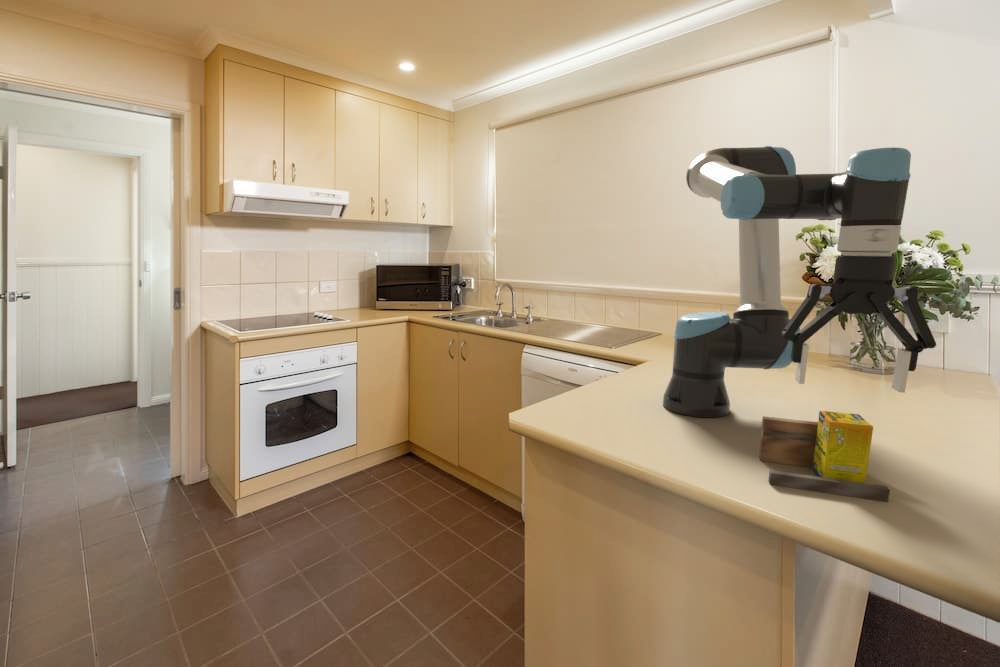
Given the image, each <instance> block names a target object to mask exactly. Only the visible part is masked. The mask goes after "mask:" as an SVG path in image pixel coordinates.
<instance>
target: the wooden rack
mask: <svg viewBox="0 0 1000 667" xmlns="http://www.w3.org/2000/svg"><path fill="white" fill-rule="evenodd" d="M817 429H818V421H810V420H800V419H790V418H781V417H772V416H771V417H770V416H762V422H761V431H760V432H761V433H760V441H759V453H758V459H759V461H761V462H766V463H767V462H768V463H774V464H775V463H776V464H781V465H782V464H783V465H790V466H798V467H804V468H805V467H806V468H811V469H813V461H814V453H815V446H816V437H817ZM768 484H769V485H772V486H778V487H785V488H793V489H799V490H805V491H813V492H819V493H825V494H831V495H832V494H833V495H838V496H845V497H846V496H847V497H851V498H852V497H853V498H857V499H858V498H859V499H867V500H872V501H880V502H886V503H887V502H889V498H890V497H889V496H890V491H891V490H890V488H889V487H888V486H887V485H882V484H881V485H880V484H874V483H873V484H872V483H866V482H865V483H860V482H853V481H846V480H839V479H831V478H824V477H819V476H818V475H816V476H815V475H809V474H802V473H795V472H794V473H793V472H788V471H779V470H773V469H769V473H768Z"/></svg>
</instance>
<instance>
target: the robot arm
mask: <svg viewBox="0 0 1000 667" xmlns="http://www.w3.org/2000/svg"><path fill="white" fill-rule="evenodd" d="M911 159H912V154H911V151H910V150H908V149H907V148H903V147H880V148H879V147H878V148H872V149H871V148H870V149H865V150H860V151H857V152H854V153H853V154H852V155H851V156H850V157H849V159H848V164H847V167H846V169H845V171H844V172H839V173H838V172H837V173H806V174H805V173H802V174H801V173H800V174H799V173H798V174H797V167H796V161H795V158H794V155H793V153H791V151H790V150H789V149H787V148H784V147H776V146H775V147H773V146H772V145H770V146H768V145H766V146H762V147H761V146H760V147H758V146H757V147H719V148H715V149H712V150H708V151H706V152H704V153H701V154H699V156H697V157H696V158H695V159H694V160H693V161H692V162H691V163H690V164H689V167H688V168H687V171H686V175H685V176H686V177H685V178H686V184H687V187H688V189H689V190H691V192H693V193H694V194H695V195H697V196H698V197H701V198H708V199H709V198H712V199H713V200H716V201H718V202H720V208H721V211H722V215H723V216H724V217H725V218H726V219H729V220H731V219H732V220H738V251H739V252H738V254H739V255H738V256H739V259H738V260H739V262H738V263H739V265H738V266H739V267H738V268H739V269H738V270H739V306H738V308H737V309H735V310H734V312H733V316H732V317H733V318H731V317H730V314H729V313H727V312H722V311H721V312H719V311H714V312H712V311H708V312H707V311H704V312H695V313H690V314H685V315H683V316H680V317H679V318H678V319H677V320H676V324H675V329H674V330H675V331H674V335H673V338H674V341H673V342H674V344H673V345H674V346H673V357H672V375H671V377H670V379H669V382H668V384H667V387H666V389H665V392H664V393H663V399H662V400H663V401H662V405H663V407H664V408H666V409H667V410H668V411H671V412H673V413H677V414H680V415H685V416H690V417H698V418H719V417H726V416H727V415H729V414H730V408H731V401H730V399H729V398H730V397H729V395H728V391H727V386H726V383H725V372H726V368H739V369H740V368H741V369H763V370H770V369H771V370H772V369H773V370H774V369H784V368H786V367H789V365H791V364H792V363H796V368H795V370H796V371H795V381H796V382H797V383H798V384H800V385H801V384H802V385H804V384H805V380H806V372H807V364H808V358H809V357H808V356H809V348H810V345H809V344H807V343H806V341H807V340H808V339H810V338H811V337H812V336H814V335H815V334H816V333H817V332H818V331H820V330H821V329H822V328H823V327H824V326H825V325H827V324H828V323H829V322H830V321H831V320H832V319H835V317H837V316H839V315H841V313H845V314H848V315H857V314H863V315H866V316H867V315H868V316H872V315H873V314H875V315H877V316H878V317H879V318H880V319H881V320H882V322H883V323H884V324H885V325H886V326H887V328H888V329H889V330H890V331H891V332H892V333H893V335H894V336H895V337H896V339H897V340H898V341H899V342H900V343H901V344H902V345H903V346H904V348H900V347H898V348H897V352H896V357H895V365H894V371H893V376H892V377H893V378H892V382H891V388H892V389H893V390H895V391H897V392H898V393H906V387H907V381H908V375H909V374H908V373H909V372H915V370H916V369H917V363H918V357H919V353H922V352H923V351H924V350H926V349H927V350H928V349H934V348H936V346H937V342H936V340H935V338H934V336H933V335H934V334H933V333H932V331H931V329H930V326H929V325H928V322H927V320H926V317H925V316H924V313H923V311H922V309H921V307H920V304H919V300H918V299H919V291H918V288H917V287H914V286H909V285H904V286H902V287H894V284H893V282H894V276H895V272H896V270H895V269H896V263H897V258H896V257H895V256H892V254H893V253H895V252H898V249H899V245H900V238H901V230H902V223H903V222H902V221H903V217H904V212H905V206H906V200H907V193H908V188H909V182H910V179H911V173H910V169H911ZM780 219H781V220H782V219H783V220H818V221H834V220H837V219H840V228H839V235H838V241H837V248H836V251H837V252H839V253H840V255H838V256H837V257H836V258H835V264H834V272H833V278H832V279H833V280H832V283H831V285H830V286H827V285H826V286H825V285H820V284H817V283H811V284H810V285H809V286H808V291H807V295H806V296H805V299H804V300H803V301H802V303H801V304H800V305H799V307H798V308H797V310H796V311H795V312H794V314H793V315H792V317H791V318H790V317H789V315H790V312H789V309H788V308H786V307H784V306H783V305H782V299H781V298H782V297H781V292H782V290H781V262H780V261H781V260H780V257H781V256H780V223H779V222H780ZM827 294H828V295H829V296H830V298H831V299H832V302H830V303H829V304H828V305H826V306H825V308H824V309H823V310H822V311H821V312H820V313H819V314H818V315H816V316H815V317H814V318H813V319H812V320H810V321H809V322H808V323H807V324H806V325H805V326H804V327H802V328H801V326H802V324H803V323H804V322H805V320H806V319H807V318H808V316H809V315H810V314H811V311H812V310H813V309H814V308H815V307H816V305H817V304H818V301H819V299H820V300H821V299H823V298H824V297H825V295H827ZM894 296H895V297H896V299H897V301H900V302H901V305H902V307H903V308H902V309H903V310H904V313H905V314H906V317H907V319H908V322H909V323H910V326H911V328H912V330H913V332H914V335H915V338H916V339H915V338H914V337H913V335H912V334H911V333H910V332H909V331H908V330H907V328H906V327H905V325H903V324H902V323H901V321H900V320H899V319H898V318H897V317H896V315H895V314H894V311H892V309H891V308H890V307H889V306H888V305H887V303H888V302H889V301H890V300H891V299H892V298H893V297H894Z"/></svg>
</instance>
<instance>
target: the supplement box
mask: <svg viewBox="0 0 1000 667" xmlns="http://www.w3.org/2000/svg"><path fill="white" fill-rule="evenodd" d="M817 420H818V421H817V422H818V429H817V437H816V446H815V453H814V461H813V468H812V470H813V471H814V472H815V474H816V476H817V477H824V478H831V479H839V480H846V481H853V482H860V483H866V478H867V474H868V473H867V472H868V465H869V459H870V458H869V457H870V451H871V446H872V437H873V432H874V426H873V425H872V424H870V423H869V422H868V421H866V419H864V417H863V416H861V415H860V414H859V413H852V412H840V411H837V412H836V411H831V410H830V411H828V410H819V412H818V419H817Z"/></svg>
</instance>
